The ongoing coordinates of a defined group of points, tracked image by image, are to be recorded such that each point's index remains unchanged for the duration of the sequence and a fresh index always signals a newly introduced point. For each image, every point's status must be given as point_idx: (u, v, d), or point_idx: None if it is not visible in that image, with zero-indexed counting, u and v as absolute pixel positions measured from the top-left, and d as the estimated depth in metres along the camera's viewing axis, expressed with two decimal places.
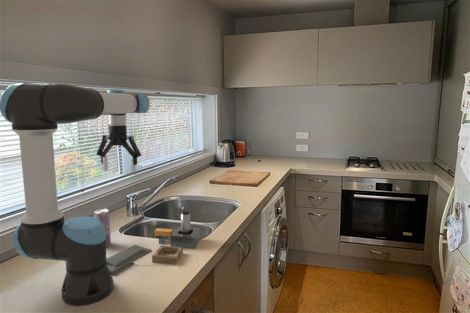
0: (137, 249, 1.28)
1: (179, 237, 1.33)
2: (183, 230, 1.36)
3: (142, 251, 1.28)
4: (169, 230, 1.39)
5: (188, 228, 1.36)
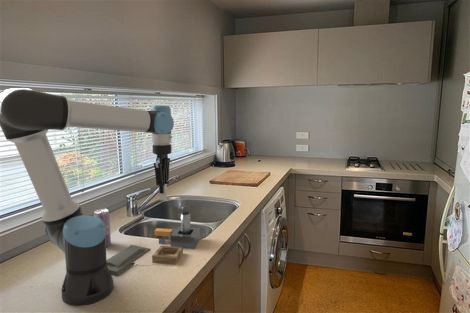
0: (136, 248, 1.28)
1: (179, 237, 1.33)
2: (183, 230, 1.36)
3: (141, 250, 1.28)
4: (169, 230, 1.39)
5: (188, 228, 1.36)
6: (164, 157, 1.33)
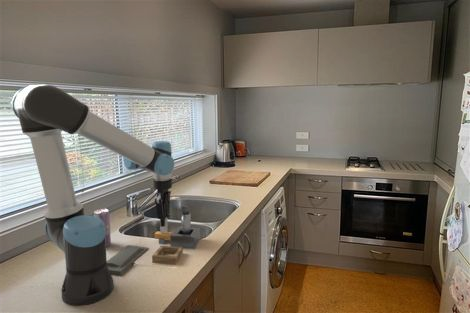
0: (135, 248, 1.28)
1: (179, 237, 1.33)
2: (183, 230, 1.36)
3: (140, 250, 1.29)
4: (169, 233, 1.39)
5: (188, 228, 1.36)
6: (165, 191, 1.36)
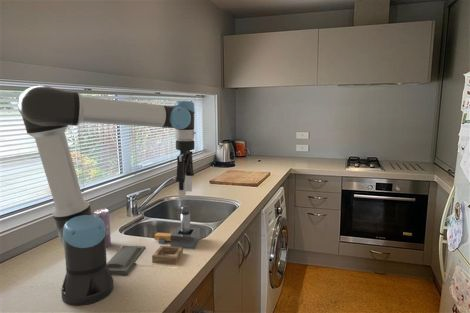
0: (133, 248, 1.29)
1: (179, 237, 1.33)
2: (183, 230, 1.36)
3: (138, 249, 1.30)
4: (169, 234, 1.39)
5: (188, 228, 1.36)
6: (187, 153, 1.32)
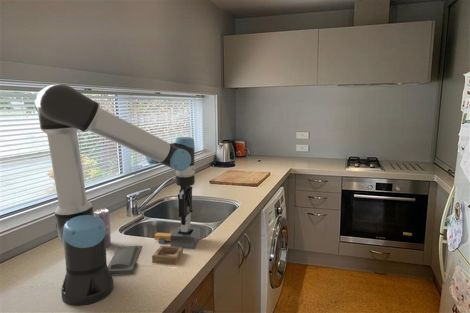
0: (131, 247, 1.29)
1: (179, 237, 1.33)
2: None
3: (136, 248, 1.30)
4: (169, 234, 1.39)
5: (188, 228, 1.36)
6: (187, 188, 1.34)
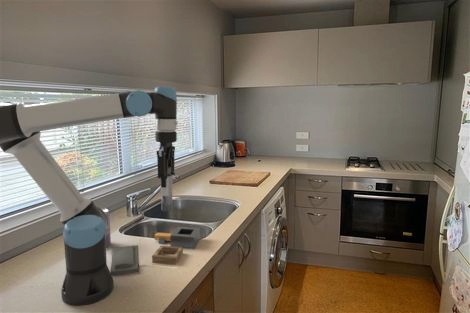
0: (129, 247, 1.29)
1: (179, 237, 1.33)
2: None
3: (134, 248, 1.30)
4: (169, 234, 1.39)
5: (169, 192, 1.20)
6: (168, 146, 1.18)
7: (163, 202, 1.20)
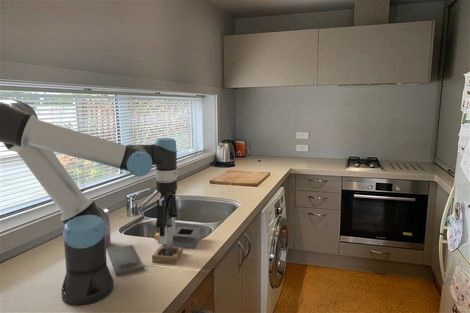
0: (126, 247, 1.29)
1: (179, 237, 1.33)
2: (164, 244, 1.22)
3: (130, 248, 1.31)
4: None
5: (170, 242, 1.23)
6: (169, 195, 1.20)
7: (164, 252, 1.23)
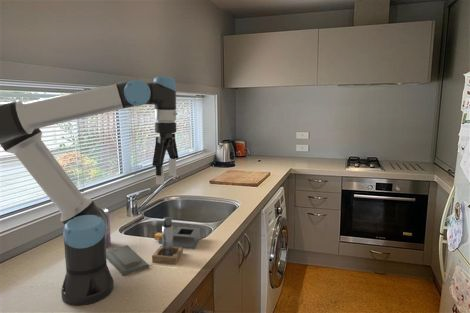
0: (124, 248, 1.28)
1: (179, 237, 1.33)
2: (164, 244, 1.22)
3: (127, 248, 1.30)
4: None
5: (170, 242, 1.23)
6: (168, 137, 1.17)
7: (164, 252, 1.23)
